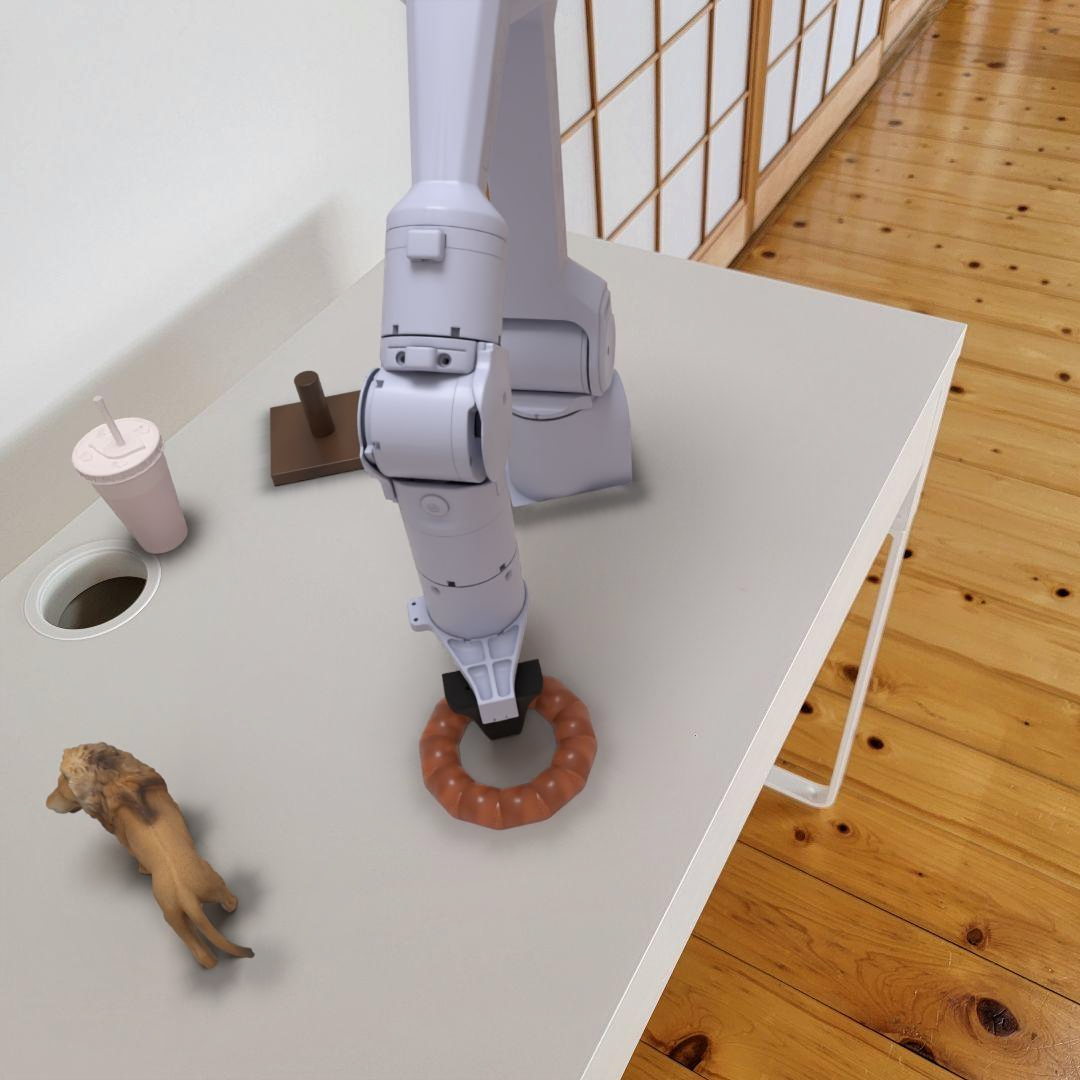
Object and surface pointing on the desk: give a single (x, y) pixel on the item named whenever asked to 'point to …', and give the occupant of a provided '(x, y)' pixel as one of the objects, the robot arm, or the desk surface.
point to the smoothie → (133, 478)
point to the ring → (516, 801)
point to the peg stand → (314, 433)
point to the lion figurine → (148, 837)
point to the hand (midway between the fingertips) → (496, 689)
